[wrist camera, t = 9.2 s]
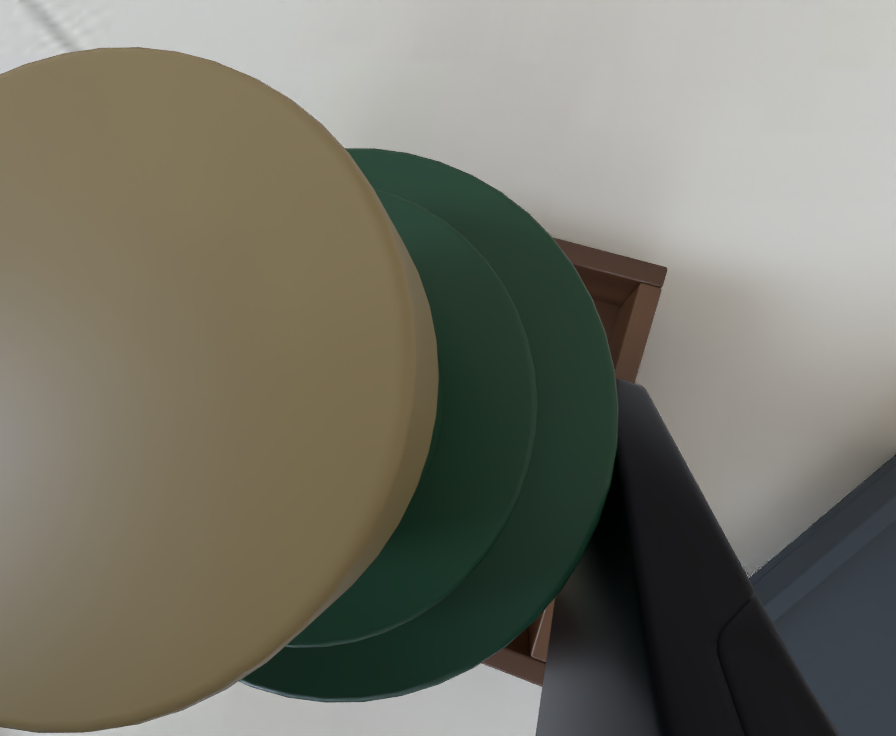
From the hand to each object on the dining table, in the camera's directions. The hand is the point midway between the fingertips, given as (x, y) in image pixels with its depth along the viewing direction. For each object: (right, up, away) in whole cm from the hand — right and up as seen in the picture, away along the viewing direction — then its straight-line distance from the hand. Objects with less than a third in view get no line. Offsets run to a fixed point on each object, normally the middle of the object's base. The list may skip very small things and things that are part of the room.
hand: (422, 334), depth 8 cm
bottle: (0, -2, +7) cm, 7 cm away
